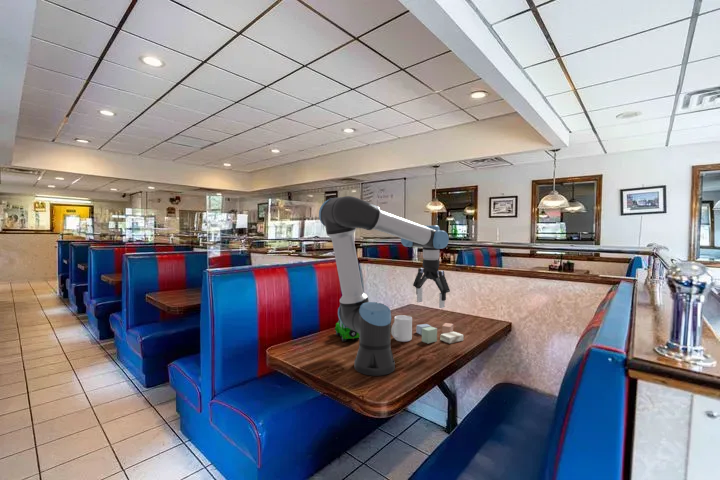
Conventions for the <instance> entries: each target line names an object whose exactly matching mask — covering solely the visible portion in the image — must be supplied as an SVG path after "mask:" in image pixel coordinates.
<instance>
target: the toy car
mask: <svg viewBox="0 0 720 480" xmlns="http://www.w3.org/2000/svg"><path fill="white" fill-rule="evenodd" d="M334 331H335V335H336V336H340V337H341V342H343V343H344V342H347V340H349V339H353V340H354V341H359V333H357V332H355V331H353V330H351V329H349V328H347V327H346V326H344V325H343V324H342V323H341V321H340V320H339V319H338V321H337V322H336V323H335V327H334Z"/></svg>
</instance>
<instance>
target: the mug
mask: <svg viewBox="0 0 720 480" xmlns="http://www.w3.org/2000/svg"><path fill="white" fill-rule="evenodd" d="M391 336H392V337H393V339H394V340H396V341H397V342H403V343H405V342H410V341H411V340H412V338H413V317H412V316H411V315H403V314H400V315H396V316H395V315H394V320H393V323H392V324H391Z"/></svg>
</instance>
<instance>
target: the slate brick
mask: <svg viewBox="0 0 720 480" xmlns="http://www.w3.org/2000/svg"><path fill="white" fill-rule="evenodd" d="M426 327H432V325H430V324H428V323H423V324H416V328H415V329H416V330H415V331H416V334H418V335H420V336H422V328H426Z"/></svg>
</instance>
